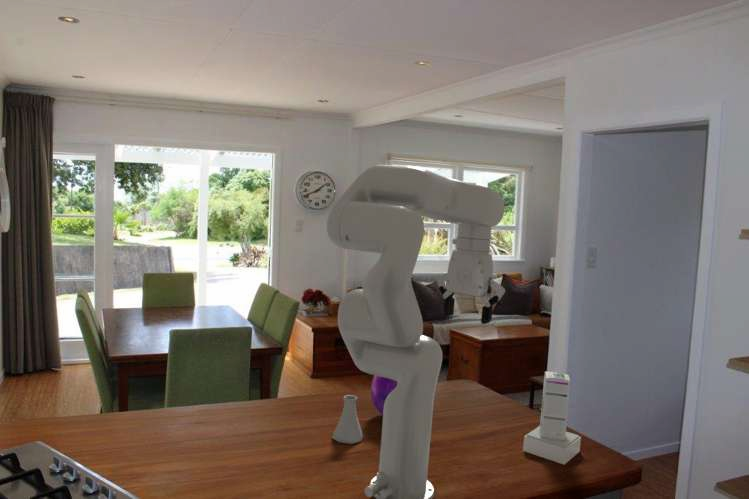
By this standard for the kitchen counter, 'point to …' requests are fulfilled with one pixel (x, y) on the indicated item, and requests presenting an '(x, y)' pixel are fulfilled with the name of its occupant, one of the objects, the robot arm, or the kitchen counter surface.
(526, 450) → the block
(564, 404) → the syrup box
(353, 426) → the flask
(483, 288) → the robot arm
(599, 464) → the kitchen counter surface
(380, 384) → the decorative orb
